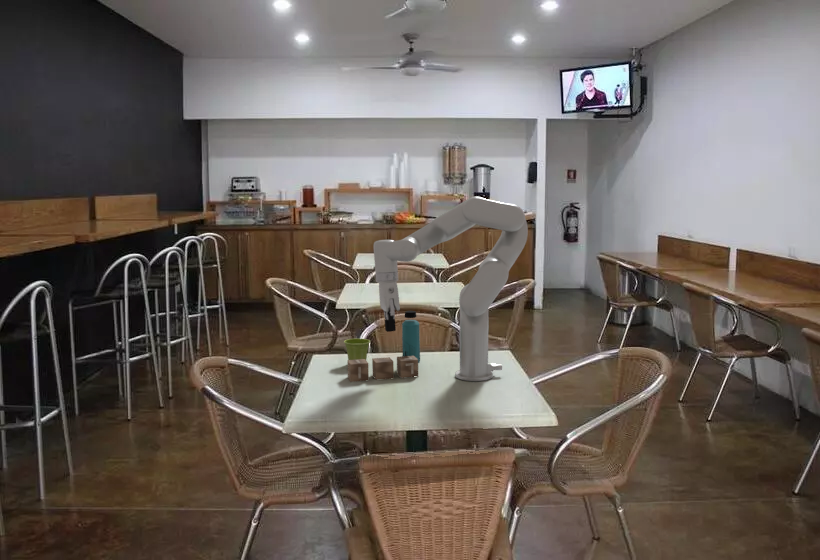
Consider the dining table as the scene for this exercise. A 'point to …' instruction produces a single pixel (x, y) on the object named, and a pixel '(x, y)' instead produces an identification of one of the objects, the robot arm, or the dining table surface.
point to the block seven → (407, 366)
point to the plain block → (383, 368)
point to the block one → (358, 370)
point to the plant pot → (357, 348)
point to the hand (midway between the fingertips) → (390, 330)
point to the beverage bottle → (411, 336)
